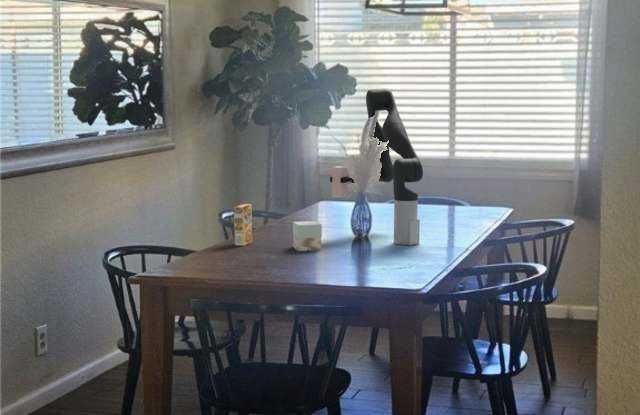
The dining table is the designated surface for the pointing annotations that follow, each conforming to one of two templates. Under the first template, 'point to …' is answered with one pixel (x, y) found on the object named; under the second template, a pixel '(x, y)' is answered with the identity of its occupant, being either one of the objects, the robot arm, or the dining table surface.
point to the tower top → (307, 229)
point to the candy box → (243, 224)
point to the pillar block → (337, 187)
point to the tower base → (306, 243)
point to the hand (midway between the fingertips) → (336, 179)
